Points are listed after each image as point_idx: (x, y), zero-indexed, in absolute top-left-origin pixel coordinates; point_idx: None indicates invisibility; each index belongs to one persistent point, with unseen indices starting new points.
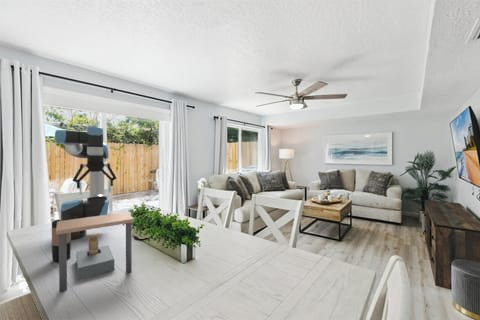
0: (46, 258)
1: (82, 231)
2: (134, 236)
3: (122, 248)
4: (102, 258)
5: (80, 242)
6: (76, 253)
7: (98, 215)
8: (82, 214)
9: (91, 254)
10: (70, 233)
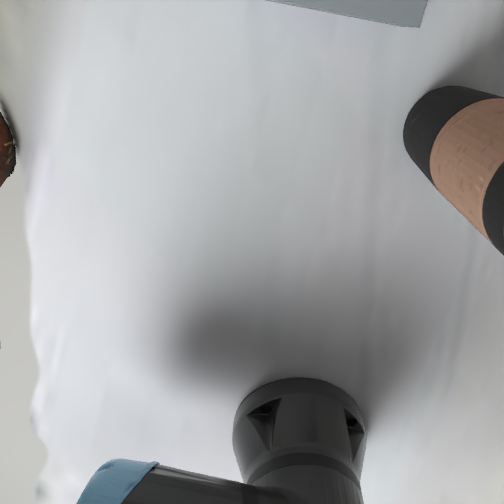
0: None
1: (259, 417)
2: (7, 152)
3: (123, 23)
4: None
5: (294, 313)
6: (420, 15)
7: (161, 467)
8: (262, 502)
9: None
10: (459, 152)
